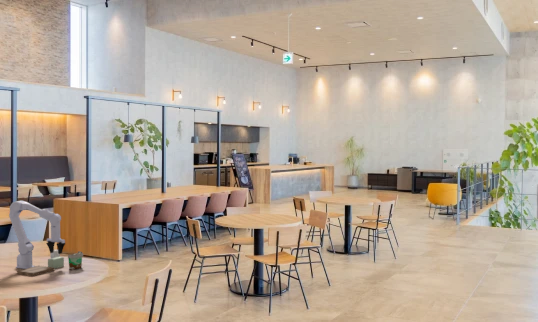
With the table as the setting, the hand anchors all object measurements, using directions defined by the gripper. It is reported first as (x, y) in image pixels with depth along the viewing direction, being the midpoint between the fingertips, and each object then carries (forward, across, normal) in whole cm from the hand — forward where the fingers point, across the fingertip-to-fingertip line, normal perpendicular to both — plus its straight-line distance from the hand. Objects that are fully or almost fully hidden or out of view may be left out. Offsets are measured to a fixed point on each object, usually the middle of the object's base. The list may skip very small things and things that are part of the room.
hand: (56, 253), depth 347 cm
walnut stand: (+9, 0, +16) cm, 18 cm away
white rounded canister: (+9, +13, -11) cm, 19 cm away
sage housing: (+9, 0, 0) cm, 9 cm away
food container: (+9, -16, -3) cm, 19 cm away
